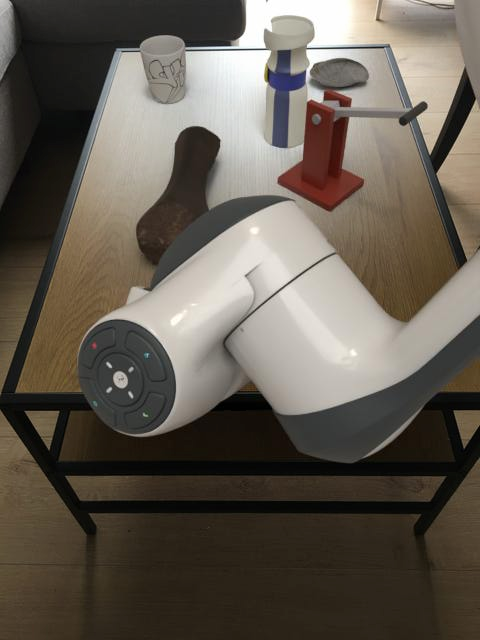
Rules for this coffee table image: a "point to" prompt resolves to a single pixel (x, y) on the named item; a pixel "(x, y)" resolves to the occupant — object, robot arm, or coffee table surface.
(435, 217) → the coffee table surface
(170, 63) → the mug
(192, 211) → the dark brown bone
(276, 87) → the water bottle
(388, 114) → the lever
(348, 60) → the seashell
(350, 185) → the bracket
